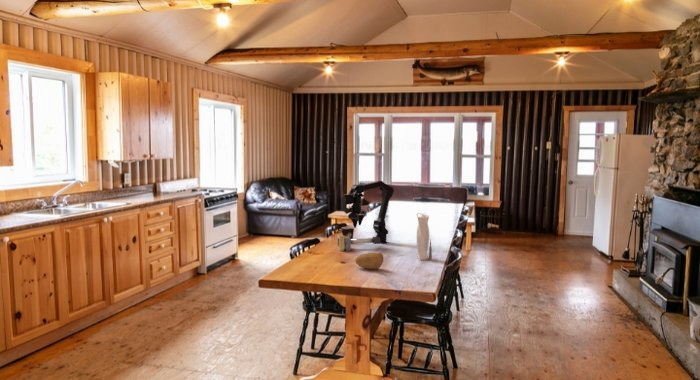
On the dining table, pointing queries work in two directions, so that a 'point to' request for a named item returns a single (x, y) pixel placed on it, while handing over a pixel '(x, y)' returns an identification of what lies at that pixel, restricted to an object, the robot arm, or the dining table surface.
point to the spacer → (340, 242)
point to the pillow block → (347, 243)
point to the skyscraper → (423, 238)
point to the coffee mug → (347, 231)
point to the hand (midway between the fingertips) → (357, 226)
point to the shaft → (366, 240)
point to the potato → (370, 260)
